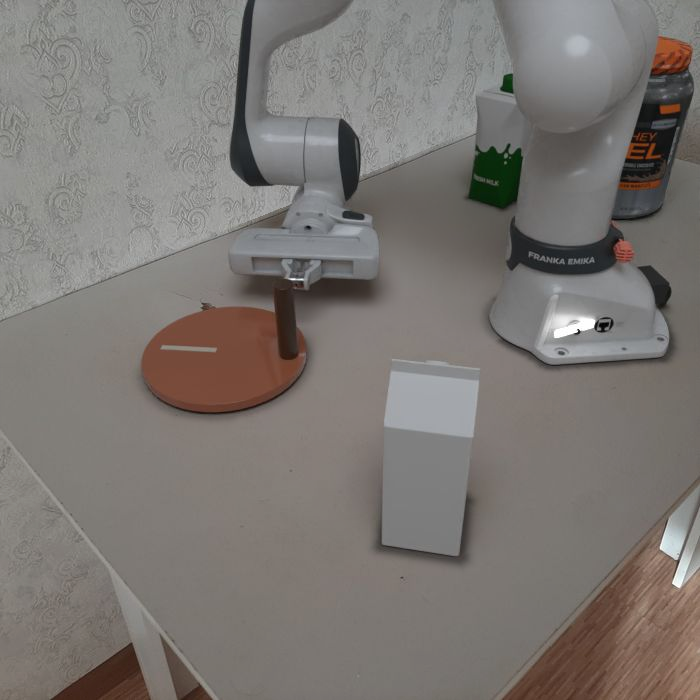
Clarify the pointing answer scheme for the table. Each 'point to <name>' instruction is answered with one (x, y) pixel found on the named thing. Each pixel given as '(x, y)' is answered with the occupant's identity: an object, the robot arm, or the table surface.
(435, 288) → the table surface
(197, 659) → the table surface
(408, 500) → the milk carton
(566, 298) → the robot arm
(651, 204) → the supplement tub
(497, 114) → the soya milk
